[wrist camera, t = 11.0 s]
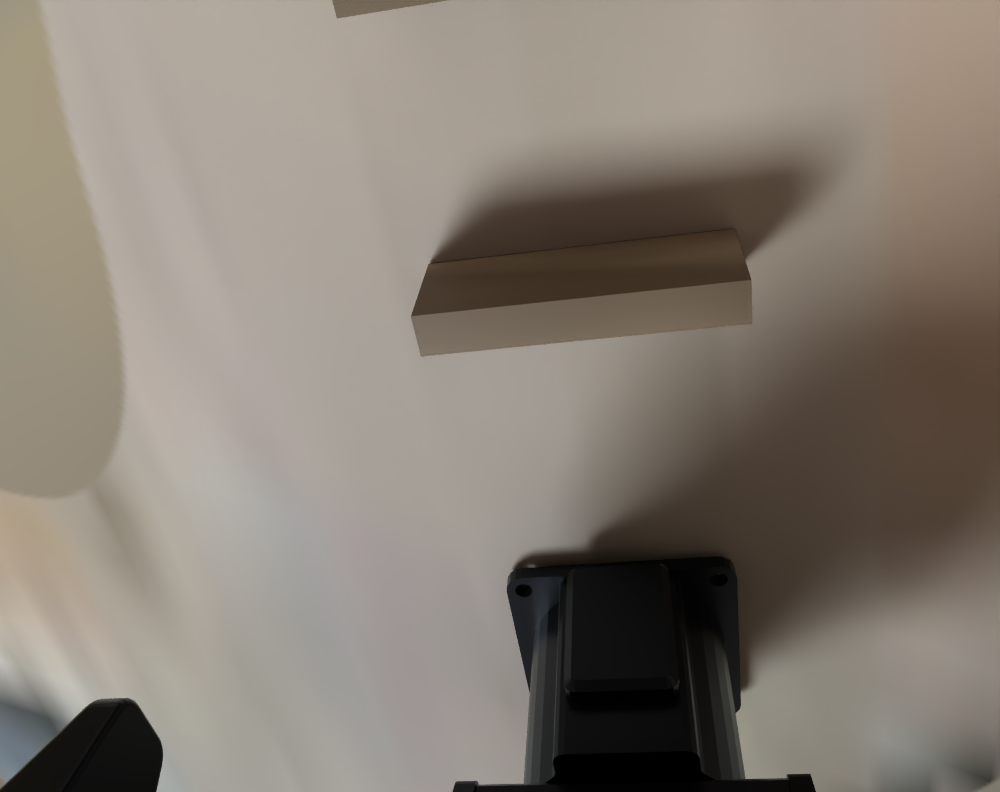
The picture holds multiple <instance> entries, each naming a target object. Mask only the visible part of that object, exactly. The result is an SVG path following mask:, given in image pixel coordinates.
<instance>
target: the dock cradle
mask: <svg viewBox="0 0 1000 792" xmlns="http://www.w3.org/2000/svg"><path fill="white" fill-rule="evenodd" d="M440 1H446V0H333V4H334V8H335V12H336V16H337V18H342V17H348V16H354V15H361V14H367V13H373V12H379V11H385V10H391V9H397V8H403V7H410V6H416V5H422V4H428V3H434V2H440ZM411 318H412V322H413V326H414V330H415V334H416V338H417V342H418V346H419V350H420V354H421V356H430V355H440V354H450V353H460V352H470V351H480V350H490V349H500V348H510V347H520V346H530V345H541V344H551V343H561V342H571V341H581V340H591V339H601V338H611V337H621V336H631V335H641V334H651V333H661V332H671V331H682V330H692V329H702V328H712V327H722V326H732V325H742V324H752V288H751V277H750V274H749V271H748V268H747V265H746V261H745V258H744V255H743V252H742V249H741V246H740V243H739V239H738V236H737V233H736V230H735V229H727V230H719V231H710V232H701V233H693V234H684V235H675V236H667V237H658V238H650V239H641V240H632V241H624V242H615V243H606V244H598V245H589V246H581V247H572V248H563V249H555V250H546V251H537V252H529V253H520V254H512V255H503V256H494V257H486V258H477V259H468V260H460V261H451V262H443V263H434V264H428V267H427V270H426V273H425V276H424V279H423V282H422V285H421V288H420V291H419V294H418V297H417V300H416V303H415V306H414V309H413V312H412V315H411Z"/></svg>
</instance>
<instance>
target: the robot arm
mask: <svg viewBox="0 0 1000 792" xmlns="http://www.w3.org/2000/svg"><path fill="white" fill-rule="evenodd" d="M717 573H720V574H723V575H720V576H712V575H713V574H717ZM522 584H524V585H528V587H523V586H520V585H522ZM507 594H508V599H509V603H510V608H511V612H512V616H513V621H514V625H515V630H516V634H517V639H518V643H519V648H520V652H521V656H522V661H523V665H524V670H525V674H526V679H527V683H528V687H529V692H530V698H529V713H528V728H527V742H526V757H525V772H524V784H492V785H478V782H477V781H457V782H456V783H455V786H454V789H453V792H816V791H815V788H814V784H813V781H812V778H811V775H810V774H787V778H778V779H745V773H744V766H743V760H742V753H741V747H740V740H739V734H738V727H737V721H736V714H735V713H736V712H737V711H738V710H739V709H740V706H741V696H740V663H739V629H738V596H737V576H736V571H735V567H734V564H733V563H732V562H731V561H730V560H729V559H726V558H724V557H704V558H687V559H670V560H653V561H637V562H620V563H603V564H586V565H569V566H553V567H536V568H521V569H517V570H515V571H513V572H511V573H510V575H509V576H508V584H507ZM162 761H163V749H162V744H161V741H160V739H159V737H158V735H157V734H156V732H155V731H154V729H153V727H152V726H151V724H150V723H149V721H148V720H147V718H146V717H145V715H144V713H143V712H142V710H141V709H140V707H139V706H138V704H137V703H136V702H135V701H134V700H131V699H129V698H114V699H100V700H96V701H94V702H92V703H91V704H89V705H88V706H87V707H85V708H84V709H83V710H82V711H81V712H80V713H79V714H78V715H77V716H76V717H75V718H74V719H73V720H72V721H71V722H70V723H69V724H68V725H67V726H65V727H64V728H63V729H62V730H61V731H60V732H59V733H58V734H57V735H56V736H55V737H54V738H53V739H52V740H51V741H50V742H49V743H48V744H47V745H46V746H45V747H43V748H42V749H41V750H40V751H39V752H38V753H37V754H36V755H35V756H34V757H33V758H32V759H31V760H30V761H29V762H28V763H27V764H26V765H25V766H24V767H23V768H22V769H20V770H19V771H18V772H17V773H16V774H15V775H14V776H13V777H12V778H11V779H10V780H9V781H8V782H7V783H6V784H5V785H4V786H3V787H2V788H1V789H0V792H156V791H157V786H158V781H159V777H160V772H161V767H162Z"/></svg>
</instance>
